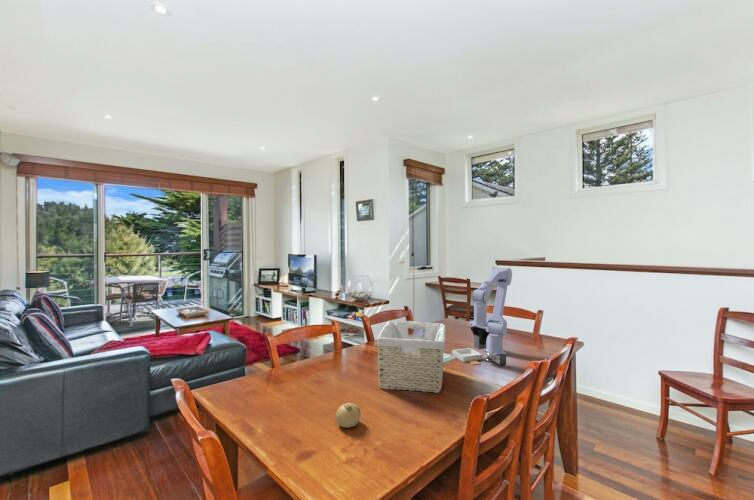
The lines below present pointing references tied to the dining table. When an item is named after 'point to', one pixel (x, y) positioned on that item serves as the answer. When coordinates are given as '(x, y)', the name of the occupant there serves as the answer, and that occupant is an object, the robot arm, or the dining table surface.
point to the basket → (411, 356)
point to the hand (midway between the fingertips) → (480, 343)
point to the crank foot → (489, 360)
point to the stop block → (478, 342)
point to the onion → (348, 415)
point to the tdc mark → (474, 362)
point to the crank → (497, 358)
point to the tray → (467, 354)
